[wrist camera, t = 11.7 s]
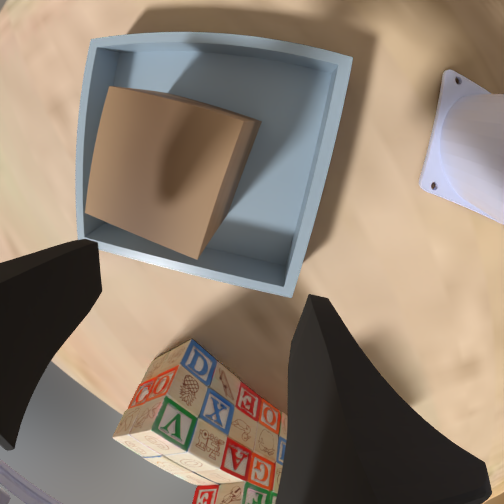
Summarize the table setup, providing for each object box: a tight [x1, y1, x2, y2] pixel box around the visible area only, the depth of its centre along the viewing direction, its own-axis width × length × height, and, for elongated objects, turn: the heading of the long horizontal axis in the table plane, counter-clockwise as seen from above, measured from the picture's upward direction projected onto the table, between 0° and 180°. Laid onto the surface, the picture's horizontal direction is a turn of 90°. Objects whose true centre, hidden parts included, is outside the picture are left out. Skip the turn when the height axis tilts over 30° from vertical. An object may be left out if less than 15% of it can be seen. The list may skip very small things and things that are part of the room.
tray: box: [76, 32, 353, 298], centre depth 15 cm, size 14×13×3 cm
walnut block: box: [85, 86, 262, 260], centre depth 13 cm, size 6×6×6 cm
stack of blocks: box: [113, 339, 288, 504], centre depth 21 cm, size 21×6×12 cm, turn 40°
